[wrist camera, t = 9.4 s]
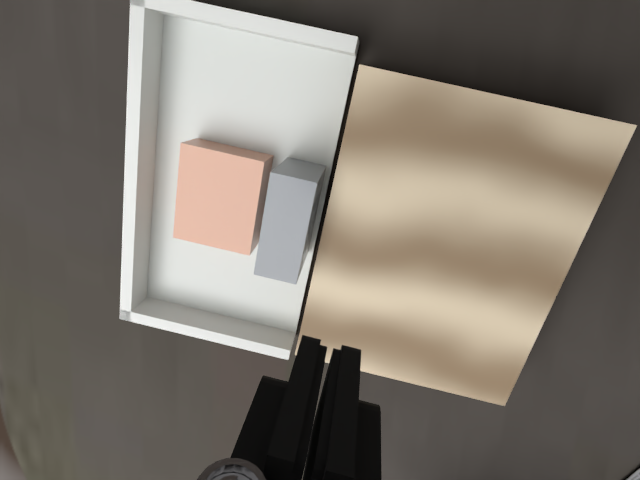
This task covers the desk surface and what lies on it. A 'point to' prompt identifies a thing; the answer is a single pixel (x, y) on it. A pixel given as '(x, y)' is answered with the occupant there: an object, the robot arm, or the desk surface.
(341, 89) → the box
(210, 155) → the salmon pink block
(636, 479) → the ink cartridge box
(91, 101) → the desk surface
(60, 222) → the desk surface
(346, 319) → the plate
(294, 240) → the slate tile
